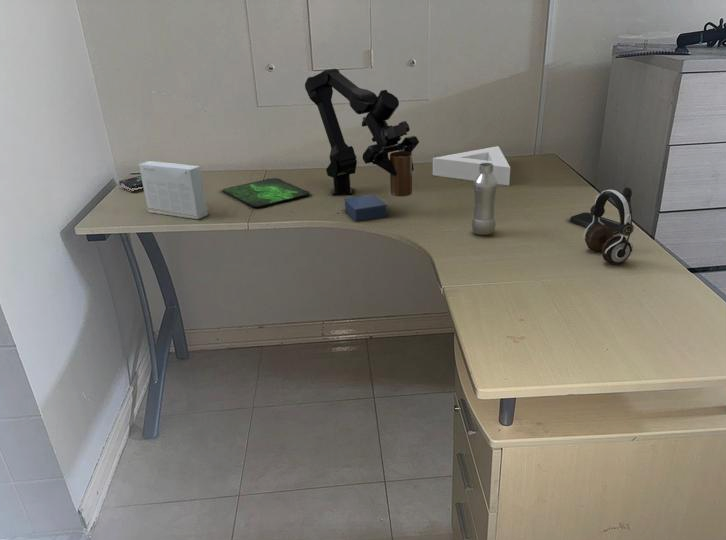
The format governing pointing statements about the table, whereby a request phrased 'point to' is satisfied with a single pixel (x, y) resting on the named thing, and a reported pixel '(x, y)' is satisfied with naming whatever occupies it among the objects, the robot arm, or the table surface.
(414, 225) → the table surface
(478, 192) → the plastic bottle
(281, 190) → the mouse mat
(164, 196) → the skincare box
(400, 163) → the brown wooden cylinder
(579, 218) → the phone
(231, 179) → the table surface
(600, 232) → the headset
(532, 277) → the table surface
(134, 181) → the disk drive
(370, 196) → the box
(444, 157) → the triangle block
